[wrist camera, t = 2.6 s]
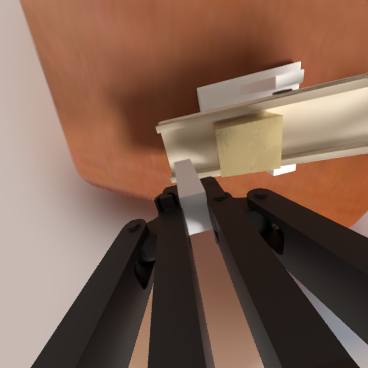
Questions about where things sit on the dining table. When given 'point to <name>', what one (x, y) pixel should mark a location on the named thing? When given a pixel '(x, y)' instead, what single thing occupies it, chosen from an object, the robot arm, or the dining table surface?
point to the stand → (252, 92)
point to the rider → (249, 143)
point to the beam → (292, 125)
